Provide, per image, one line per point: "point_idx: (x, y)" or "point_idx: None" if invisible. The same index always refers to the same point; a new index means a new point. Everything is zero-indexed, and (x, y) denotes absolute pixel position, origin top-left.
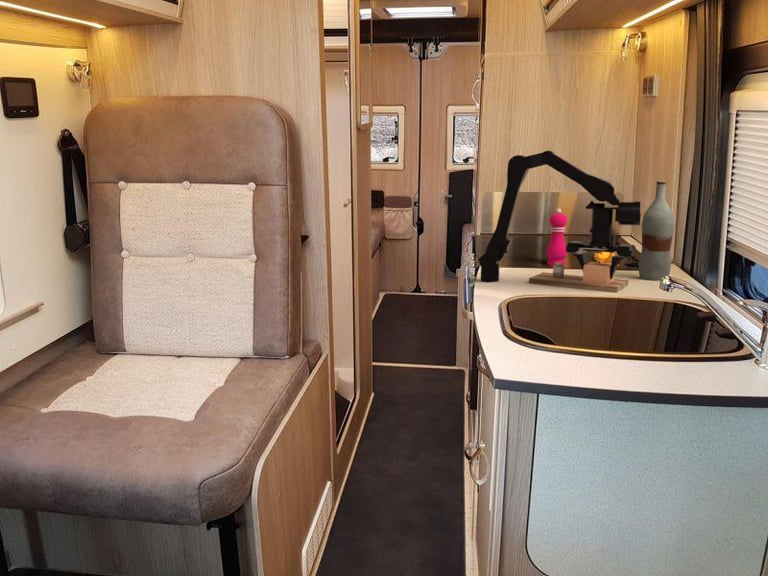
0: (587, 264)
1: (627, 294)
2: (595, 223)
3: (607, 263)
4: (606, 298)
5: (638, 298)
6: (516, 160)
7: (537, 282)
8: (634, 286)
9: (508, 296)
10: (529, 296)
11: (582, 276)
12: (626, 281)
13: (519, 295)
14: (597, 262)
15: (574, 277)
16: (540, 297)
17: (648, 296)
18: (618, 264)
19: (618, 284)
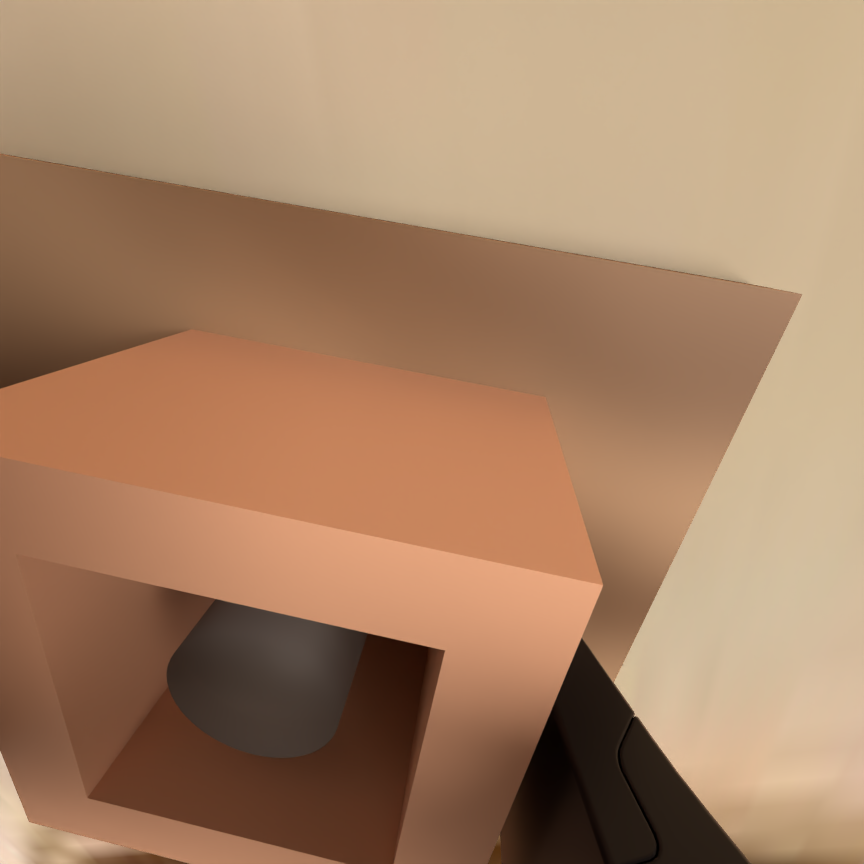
0: (42, 766)
1: (661, 740)
2: None
3: (379, 578)
4: (494, 847)
5: (731, 831)
6: None
7: None
8: (844, 337)
9: (9, 851)
10: (87, 844)
11: (46, 214)
12: (748, 398)
13: (34, 832)
14: (74, 488)
15: (6, 352)
16: (144, 855)
17: (846, 775)
18: (697, 815)
19: (601, 636)
